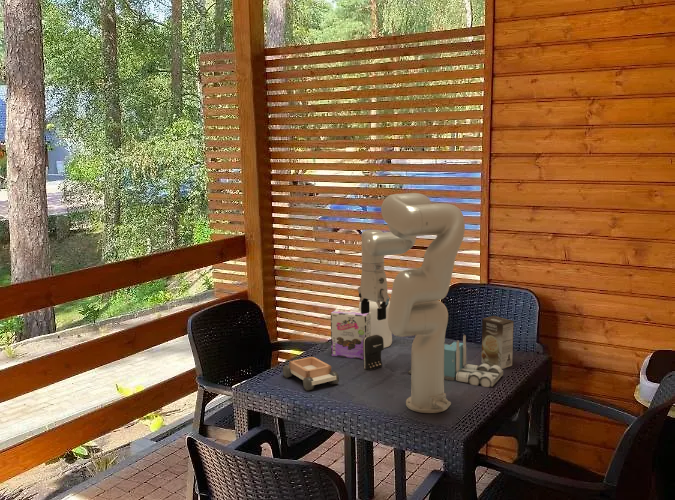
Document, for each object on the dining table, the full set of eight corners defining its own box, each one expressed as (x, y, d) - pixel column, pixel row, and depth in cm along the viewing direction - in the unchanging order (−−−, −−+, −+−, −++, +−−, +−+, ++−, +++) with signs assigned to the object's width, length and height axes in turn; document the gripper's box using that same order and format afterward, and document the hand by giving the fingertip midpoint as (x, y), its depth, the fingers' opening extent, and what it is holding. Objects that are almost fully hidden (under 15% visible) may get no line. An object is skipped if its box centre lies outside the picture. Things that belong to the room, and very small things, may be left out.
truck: (421, 364, 235) (421, 323, 233) (503, 377, 221) (504, 333, 219) (407, 375, 225) (407, 331, 222) (492, 389, 211) (493, 343, 208)
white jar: (396, 341, 261) (396, 291, 258) (385, 351, 250) (384, 298, 247) (366, 338, 266) (365, 289, 263) (354, 347, 255) (353, 295, 252)
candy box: (330, 356, 245) (329, 312, 242) (336, 351, 250) (336, 308, 248) (366, 360, 240) (365, 315, 237) (371, 355, 245) (371, 311, 243)
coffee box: (480, 363, 234) (480, 318, 232) (492, 359, 238) (493, 315, 236) (501, 369, 227) (502, 323, 225) (513, 365, 231) (514, 320, 228)
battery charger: (369, 371, 228) (369, 339, 226) (362, 368, 231) (362, 336, 229) (385, 367, 232) (385, 335, 230) (378, 364, 235) (378, 332, 233)
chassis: (339, 385, 216) (338, 368, 215) (309, 392, 210) (308, 374, 209) (311, 369, 231) (311, 353, 230) (282, 375, 225) (282, 359, 224)
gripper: (397, 269, 220) (397, 320, 223) (367, 261, 235) (368, 309, 238) (378, 272, 216) (379, 323, 219) (349, 264, 231) (350, 312, 234)
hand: (373, 316), depth 228 cm, fingers open, 9 cm apart
